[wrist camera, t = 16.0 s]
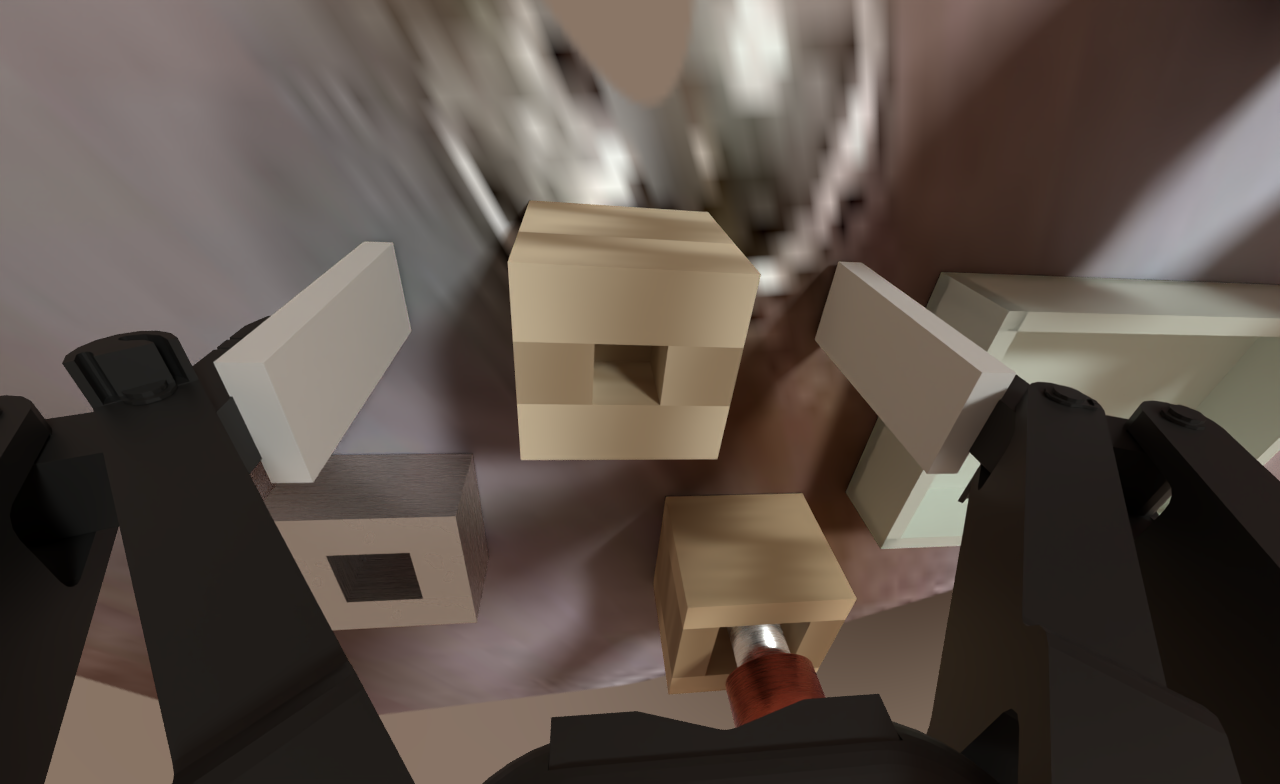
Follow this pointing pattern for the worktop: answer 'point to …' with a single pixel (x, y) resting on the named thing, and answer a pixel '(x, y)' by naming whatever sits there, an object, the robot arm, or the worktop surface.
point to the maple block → (625, 331)
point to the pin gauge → (766, 673)
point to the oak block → (742, 582)
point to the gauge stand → (388, 539)
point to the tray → (1088, 373)
